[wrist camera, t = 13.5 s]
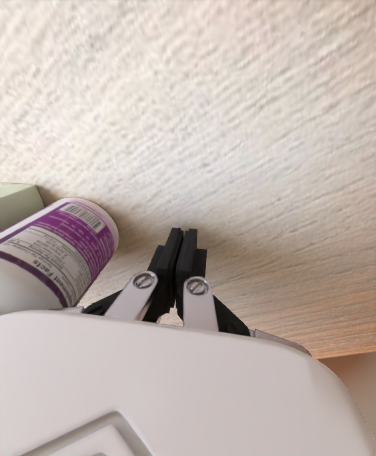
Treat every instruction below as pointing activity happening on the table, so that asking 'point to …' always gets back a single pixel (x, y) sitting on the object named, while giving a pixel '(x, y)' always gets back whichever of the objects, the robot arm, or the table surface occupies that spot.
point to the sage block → (18, 203)
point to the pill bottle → (54, 255)
